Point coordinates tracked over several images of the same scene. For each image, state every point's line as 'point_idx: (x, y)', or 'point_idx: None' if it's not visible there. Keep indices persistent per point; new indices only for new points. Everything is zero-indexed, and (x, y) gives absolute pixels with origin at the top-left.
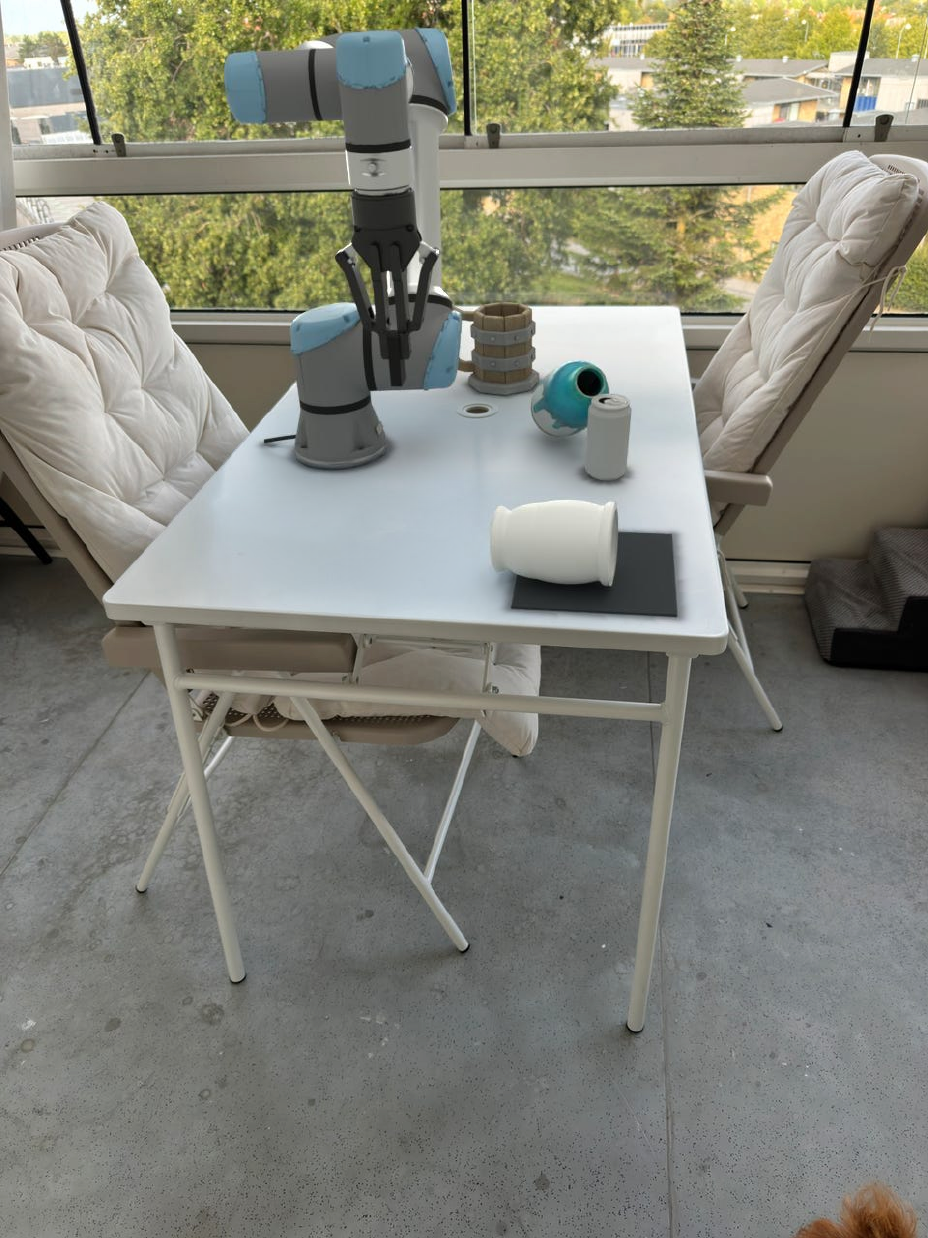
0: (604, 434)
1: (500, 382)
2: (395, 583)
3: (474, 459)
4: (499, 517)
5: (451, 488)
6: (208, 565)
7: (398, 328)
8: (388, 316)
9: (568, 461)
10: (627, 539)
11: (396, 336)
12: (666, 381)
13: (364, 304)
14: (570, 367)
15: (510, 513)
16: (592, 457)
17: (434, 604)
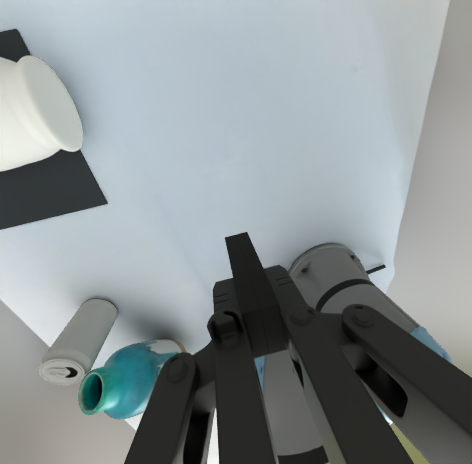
0: (70, 332)
1: None
2: (175, 52)
3: None
4: (18, 88)
5: (210, 249)
6: (380, 32)
7: (243, 342)
8: (304, 388)
9: (141, 315)
10: (1, 213)
11: (249, 317)
12: (137, 420)
13: (453, 415)
14: (126, 405)
15: (10, 105)
16: (96, 312)
17: (108, 13)
